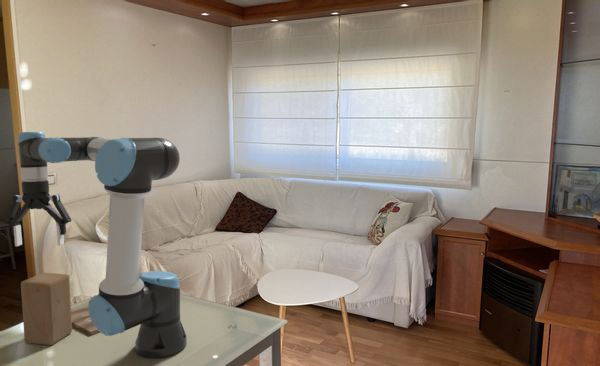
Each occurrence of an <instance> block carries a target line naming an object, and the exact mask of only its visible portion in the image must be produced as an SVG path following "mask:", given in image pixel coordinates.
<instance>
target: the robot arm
mask: <svg viewBox="0 0 600 366" xmlns="http://www.w3.org/2000/svg"><path fill="white" fill-rule="evenodd" d="M17 137H18V142H17V146H18V155H19V166H20V178H21V179H20V180H22V182H21V191H22V193H23V194H22V195H21V194H15V195H13V196H12V203H11V205H10V207H9V209H8V212H7V214H6V217H5V219H4V222H3V223H4V225H9V226H10V229H11V235H12V236H14V246H15V247H19V246H22V245H23V237H22V226H21V224H20V222H21V221H22V220H23V218H24V217H25V215H26V214H27V213H28V212H29V210H34V209H35V210H41V209H42V210H43V211H45V212H46V213H48V215H49V216H50V217H51V218H52V219H53V220H54V221H55V222H56V223H57V224H58V225H56V240H57V246H62V245H64V244H65V236H64V235H66V233H67V230H66V229H67V226H66V225H67V224H69V223H71V222H72V218H71V216H70V214H69V212H68V211H67V209H66V208H65V206H64V204H63V202H62V201H61V195H60V194H58V193H57V194H52V195H50V184H49V183H50V182H49V180H48V178H49V173H48V171H49V170H48V163H50V164H59V163H63V162H78V161H79V162H80V161H89V162H90V161H92V162H94V170H95V173H96V177H97V179H98V181H99V182H100V183H102V184H103V185H104V186H103V189H104V190H105V191H106V192H107V193H108V194H109V206H108V207H109V210H108V211H109V212H108V225H107V226H108V228H107V230H108V231H107V246H106V247H107V248H106V266H105V278H104V279H102V280H101V281H100V282H99V285H98V294H97V295H93V297H91V299H90V300H89V301H88V304H87V305H88V310H89V315H90V318H91V320H92V322H93V324H94V326H95V327H96V329H97V330H98V331H99V333H101V334H102V335H104V336H108V337H112V336H115V335H118V334H122V333H124V332H125V331H127V330H131V329H132V328H135V327H137V326H139V330H138V332H137V337H136V340H135V343H134V345H135V353H136V354H138V355H139V356H141V357H143V358H149V359H156V358H157V359H159V358H165V357H166V358H167V357H171V356H173V355H176V354H178V353H180V352H182V351H183V350H184V349H185V348H186V346H187V343H188V342H187V341H188V340H187V339H188V337H187V334H186V331H185V328H184V325H183V324H182V321H181V320H182V319H181V286H180V278H179V276H178V275H177V274H176V273H173V272H170V271H162V270H152V271H151V270H150V271H144V272H142V273H140V270H141V269H140V267H141V253H142V252H141V251H142V241H143V239H142V238H143V226H144V224H143V223H144V213H145V212H144V211H145V199H146V196H147V195H148V194H150V193H151V192H152V185H153V184H152V183H153V182H154V181H158V180H164V179H166V178H169V177H170V176H172V175H173V174H174V173H175V172H176V171H177V169H178V168H179V164H180V159H181V158H180V152H179V150H178V148H177V146H176V145H175V144H174V143H173V142H172V141H170V140H168V139H166V138H164V137H163V138H161V137H121V138H113V139H110V138H104V137H98V136H89V137H84V136H83V137H46V134H45V133H44V132H43V131H21V132H19V133H18V136H17ZM50 201H51V202H53V204H51V203H50ZM22 202H23V203H24V204H23V206H22V207H21V209H20V210H19V206H20V204H21V203H22ZM53 205H54V207H55V208H54V207H53ZM18 210H19V211H18ZM17 212H18V213H17Z"/></svg>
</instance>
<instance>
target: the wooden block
mask: <svg viewBox="0 0 600 366" xmlns="http://www.w3.org/2000/svg"><path fill="white" fill-rule="evenodd" d="M70 287H71V285H70V275H69V274H65V273H53V272H42V273H39V274H37V275H35V276H32V277H30V278H27V279H25V280H23V281H21V282H20V289H21V290H20V291H21V303H22V304H21V305H22V319H23V320H22V322H23V337H24V342H25V343H26V344H27V343H28V344H34V345H35V344H37V345H44V346H52V345H54V344H56V343H58V342H59V341H61V340H62V339H64V338H66V337H67V336H68V335H70V334H71V333H72V332H73V326H72V320H71V310H72V305H71V304H72V303H71V288H70Z"/></svg>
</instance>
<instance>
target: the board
mask: <svg viewBox="0 0 600 366" xmlns="http://www.w3.org/2000/svg"><path fill="white" fill-rule="evenodd" d="M71 320H72V327H74V328H76V329H77V330H79V331H82V332H83V333H85V334H87V335H89V336H93V335H96V334H99V333H100V332H99V331H98V330H97V329H96V327H95V326H94V324H93V322H92V320H91V318H90V315H89V310H88V304H87V305H85V306H81V307H77V308H75V309H71Z"/></svg>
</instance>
